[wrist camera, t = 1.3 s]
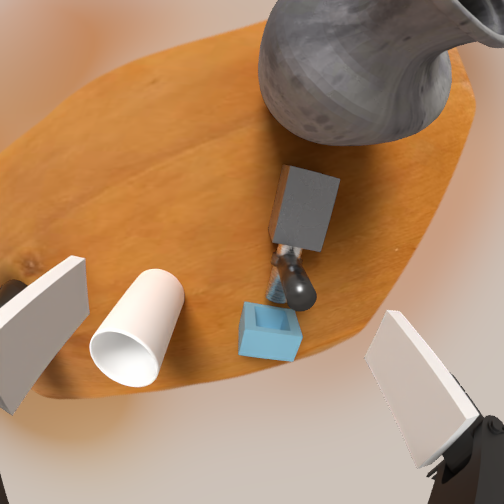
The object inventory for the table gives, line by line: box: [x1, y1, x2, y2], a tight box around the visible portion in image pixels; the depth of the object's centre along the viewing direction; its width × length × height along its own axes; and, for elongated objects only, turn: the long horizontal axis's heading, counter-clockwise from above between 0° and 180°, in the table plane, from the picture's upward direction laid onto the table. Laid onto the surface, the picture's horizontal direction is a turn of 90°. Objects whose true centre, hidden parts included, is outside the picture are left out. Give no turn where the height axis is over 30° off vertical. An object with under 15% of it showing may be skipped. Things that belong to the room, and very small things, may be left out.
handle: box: [265, 244, 317, 311], centre depth 31 cm, size 17×4×12 cm, turn 168°
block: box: [268, 165, 340, 252], centre depth 34 cm, size 9×6×6 cm, turn 168°
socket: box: [238, 302, 303, 362], centre depth 39 cm, size 4×8×7 cm, turn 78°
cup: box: [90, 269, 184, 387], centre depth 33 cm, size 8×8×16 cm
